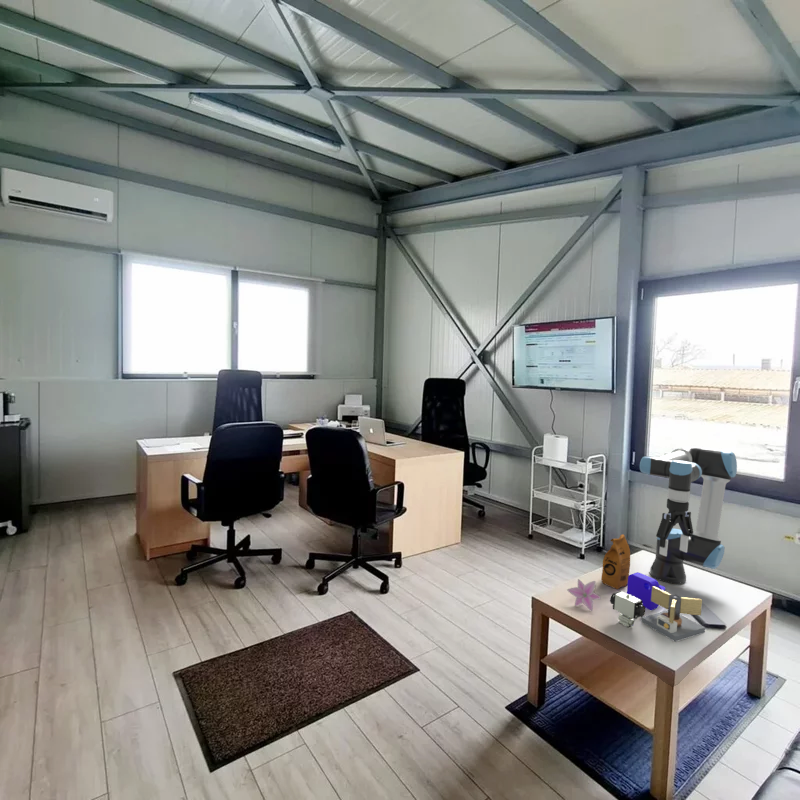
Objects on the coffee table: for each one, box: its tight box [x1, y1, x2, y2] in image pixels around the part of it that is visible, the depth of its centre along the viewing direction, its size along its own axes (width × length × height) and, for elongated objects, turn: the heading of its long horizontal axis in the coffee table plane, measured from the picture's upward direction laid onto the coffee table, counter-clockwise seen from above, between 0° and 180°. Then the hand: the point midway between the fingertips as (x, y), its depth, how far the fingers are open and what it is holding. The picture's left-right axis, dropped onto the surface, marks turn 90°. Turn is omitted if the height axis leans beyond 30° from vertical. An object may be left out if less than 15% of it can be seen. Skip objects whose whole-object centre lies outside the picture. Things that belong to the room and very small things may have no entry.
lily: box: [566, 578, 602, 612], centre depth 198 cm, size 12×12×10 cm
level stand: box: [641, 609, 706, 642], centre depth 183 cm, size 18×14×6 cm
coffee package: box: [600, 534, 631, 590], centre depth 218 cm, size 10×12×22 cm
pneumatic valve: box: [609, 590, 646, 628], centre depth 184 cm, size 6×12×12 cm, turn 36°
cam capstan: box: [651, 586, 703, 627], centre depth 184 cm, size 17×15×10 cm
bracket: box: [626, 572, 666, 611], centre depth 204 cm, size 18×11×12 cm, turn 122°
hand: (673, 553), depth 190 cm, fingers open, 11 cm apart
